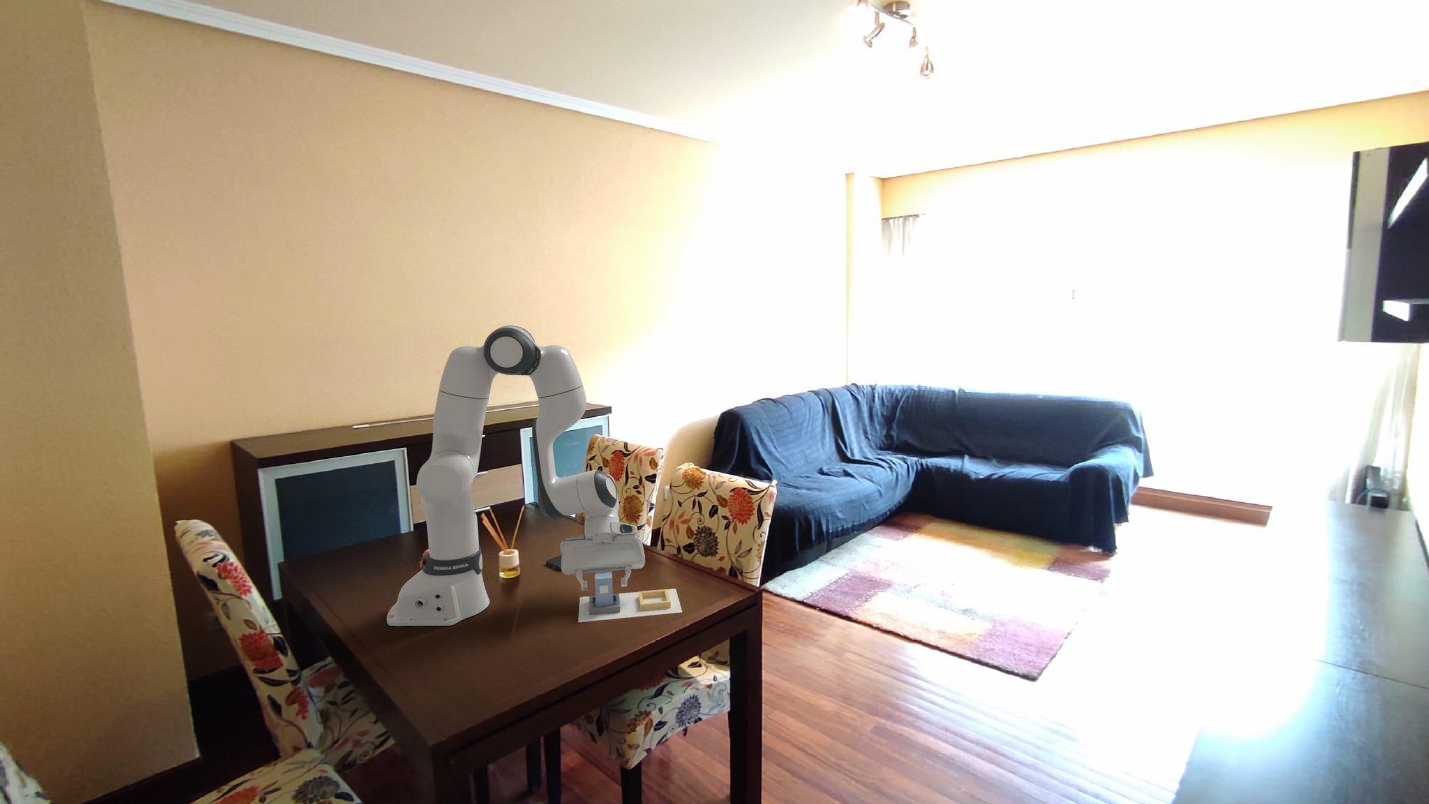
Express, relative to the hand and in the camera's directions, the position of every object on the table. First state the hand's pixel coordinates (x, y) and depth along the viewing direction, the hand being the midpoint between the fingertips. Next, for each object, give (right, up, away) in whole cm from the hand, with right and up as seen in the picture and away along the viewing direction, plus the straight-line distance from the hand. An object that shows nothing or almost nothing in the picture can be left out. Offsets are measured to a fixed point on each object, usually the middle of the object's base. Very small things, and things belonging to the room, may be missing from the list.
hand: (604, 587), depth 148 cm
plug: (0, -5, +1) cm, 5 cm away
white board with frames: (+6, -5, +2) cm, 8 cm away
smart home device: (-12, -2, +33) cm, 36 cm away
